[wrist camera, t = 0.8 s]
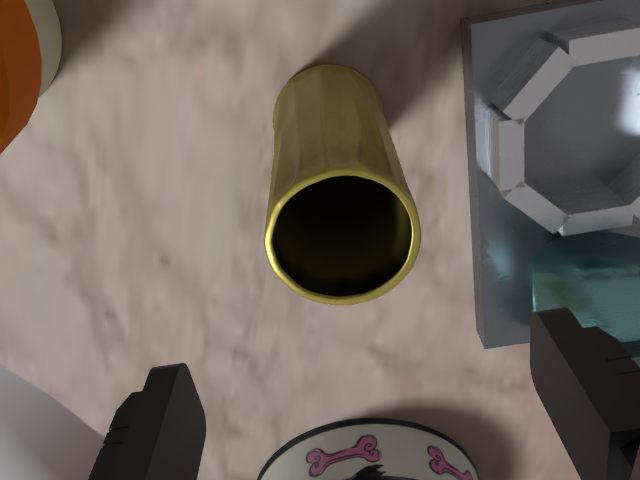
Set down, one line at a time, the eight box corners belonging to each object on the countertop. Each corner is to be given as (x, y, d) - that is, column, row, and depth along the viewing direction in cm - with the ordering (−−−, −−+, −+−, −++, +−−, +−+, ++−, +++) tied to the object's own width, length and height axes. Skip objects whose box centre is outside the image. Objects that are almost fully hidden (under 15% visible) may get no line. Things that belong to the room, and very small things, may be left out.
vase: (250, 114, 31) (211, 233, 18) (336, 38, 29) (358, 113, 17) (321, 192, 33) (330, 346, 21) (406, 125, 31) (472, 250, 19)
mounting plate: (460, 19, 29) (529, 54, 20) (681, -22, 28) (854, -4, 19) (476, 330, 38) (528, 449, 29) (642, 305, 38) (747, 419, 29)
